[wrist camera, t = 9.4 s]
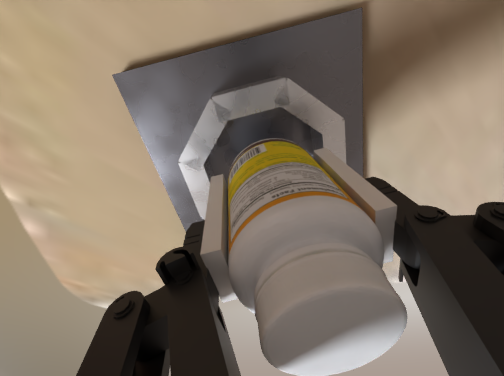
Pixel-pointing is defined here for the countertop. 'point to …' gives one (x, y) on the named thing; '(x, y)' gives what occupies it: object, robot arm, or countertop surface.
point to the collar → (249, 103)
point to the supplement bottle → (307, 264)
